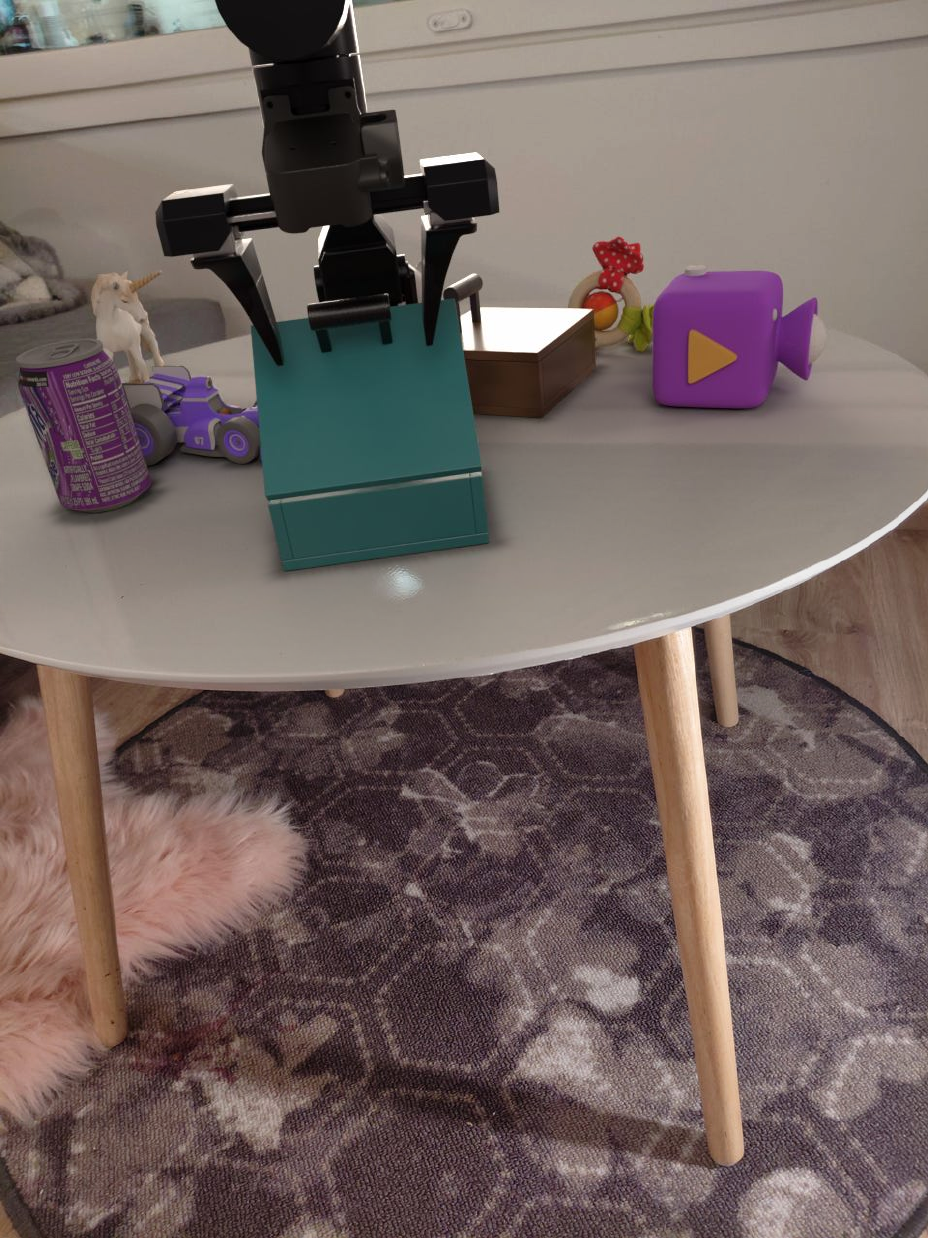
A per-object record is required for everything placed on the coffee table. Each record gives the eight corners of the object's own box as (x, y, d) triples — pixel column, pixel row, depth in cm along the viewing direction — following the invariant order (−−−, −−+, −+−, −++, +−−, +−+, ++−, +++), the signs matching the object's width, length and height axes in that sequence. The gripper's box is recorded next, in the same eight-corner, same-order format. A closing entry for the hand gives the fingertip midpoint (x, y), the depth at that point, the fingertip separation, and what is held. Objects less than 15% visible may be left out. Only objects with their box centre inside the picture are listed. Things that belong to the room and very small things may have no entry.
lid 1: (253, 332, 63) (234, 284, 58) (455, 305, 63) (452, 255, 58) (267, 501, 59) (248, 465, 54) (481, 471, 59) (481, 433, 55)
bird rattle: (595, 381, 94) (680, 337, 91) (543, 279, 89) (632, 230, 86) (594, 362, 99) (674, 321, 96) (545, 265, 94) (628, 218, 91)
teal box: (294, 499, 71) (281, 439, 69) (472, 475, 72) (465, 415, 69) (283, 571, 61) (267, 505, 59) (489, 543, 62) (482, 475, 59)
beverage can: (76, 487, 78) (26, 343, 72) (161, 476, 78) (118, 331, 72) (51, 524, 72) (-6, 370, 66) (143, 512, 72) (95, 357, 66)
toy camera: (827, 413, 74) (840, 283, 69) (651, 419, 77) (651, 294, 72) (812, 370, 83) (823, 252, 78) (655, 377, 86) (655, 263, 81)
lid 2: (409, 357, 83) (401, 299, 81) (475, 315, 93) (470, 262, 91) (538, 362, 78) (534, 300, 75) (594, 317, 88) (592, 261, 85)
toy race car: (274, 470, 77) (256, 392, 73) (122, 465, 82) (98, 393, 78) (323, 427, 84) (309, 355, 81) (181, 425, 89) (162, 357, 86)
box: (424, 410, 85) (417, 358, 83) (487, 363, 95) (483, 316, 93) (541, 418, 80) (538, 362, 78) (596, 368, 90) (594, 317, 88)
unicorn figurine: (126, 429, 90) (81, 285, 83) (98, 382, 105) (59, 257, 98) (199, 411, 92) (162, 270, 85) (162, 367, 108) (128, 245, 101)
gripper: (92, 86, 43) (182, 417, 51) (498, 35, 43) (524, 371, 51) (142, 82, 52) (211, 361, 60) (474, 40, 53) (499, 322, 61)
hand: (355, 354), depth 58 cm, fingers open, 9 cm apart
